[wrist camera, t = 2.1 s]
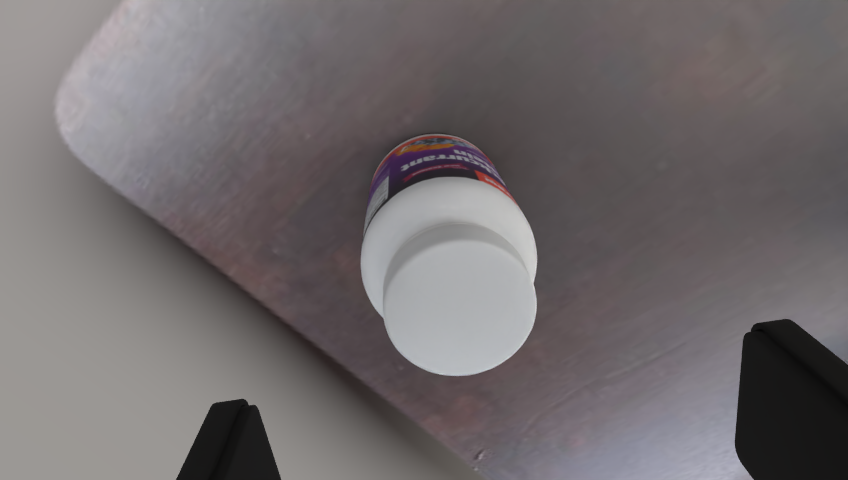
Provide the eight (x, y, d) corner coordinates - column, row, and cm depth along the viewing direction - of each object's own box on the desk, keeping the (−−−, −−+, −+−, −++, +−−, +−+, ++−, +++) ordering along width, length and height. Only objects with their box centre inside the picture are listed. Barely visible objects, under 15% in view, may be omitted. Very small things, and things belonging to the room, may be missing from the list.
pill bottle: (516, 150, 23) (598, 244, 14) (476, 266, 25) (524, 415, 16) (387, 114, 22) (383, 190, 13) (355, 238, 24) (333, 378, 15)
